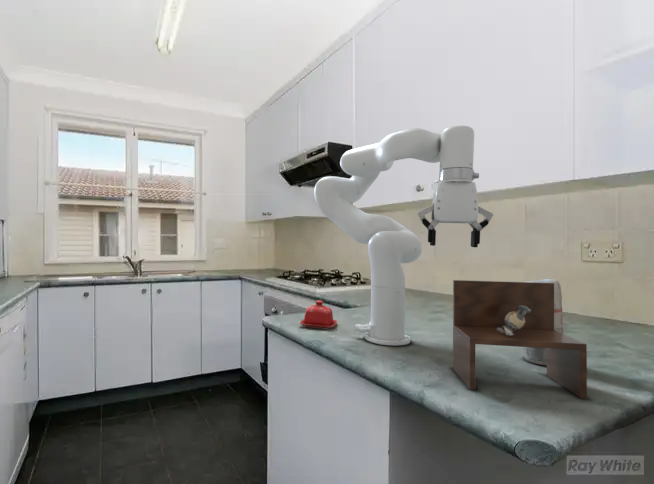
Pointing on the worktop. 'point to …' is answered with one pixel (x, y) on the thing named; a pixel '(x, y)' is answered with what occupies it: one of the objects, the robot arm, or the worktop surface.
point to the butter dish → (318, 316)
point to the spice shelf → (538, 331)
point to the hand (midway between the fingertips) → (453, 246)
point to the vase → (514, 320)
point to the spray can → (541, 353)
